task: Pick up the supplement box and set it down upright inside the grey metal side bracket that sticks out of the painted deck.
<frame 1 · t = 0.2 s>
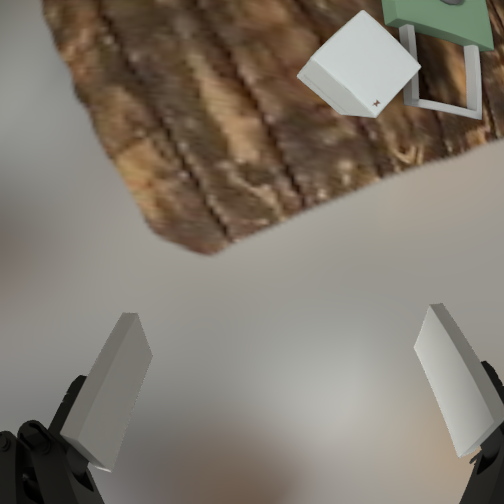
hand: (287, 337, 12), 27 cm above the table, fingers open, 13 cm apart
supplement box: (336, 75, 30), on the table
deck: (431, 1, 23), on the table
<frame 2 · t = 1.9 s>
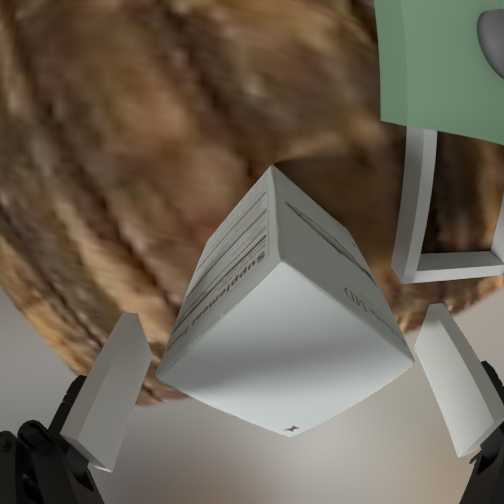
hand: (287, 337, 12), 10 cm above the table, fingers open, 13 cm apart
supplement box: (277, 231, 21), on the table
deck: (470, 60, 13), on the table
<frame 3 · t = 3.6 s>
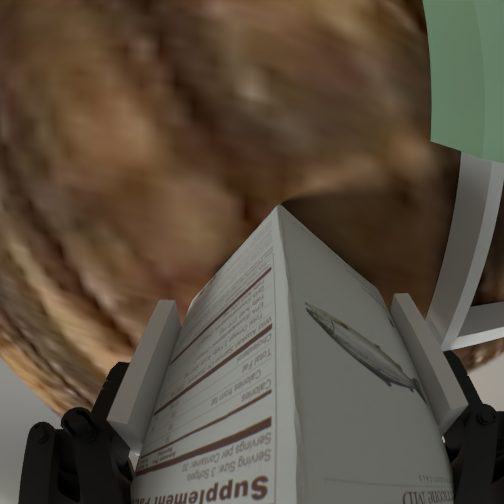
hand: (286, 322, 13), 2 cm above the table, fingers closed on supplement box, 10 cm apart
supplement box: (284, 292, 15), on the table, touching gripper
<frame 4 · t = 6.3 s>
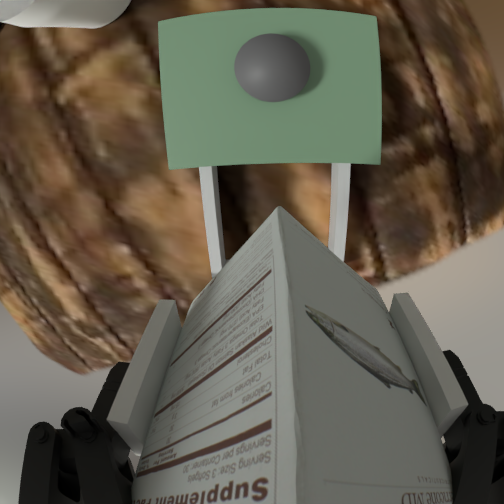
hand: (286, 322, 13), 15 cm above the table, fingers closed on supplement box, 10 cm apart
cup: (105, 0, 17), on the table
supplement box: (284, 293, 15), point 13 cm above the table, touching gripper
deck: (271, 86, 22), on the table
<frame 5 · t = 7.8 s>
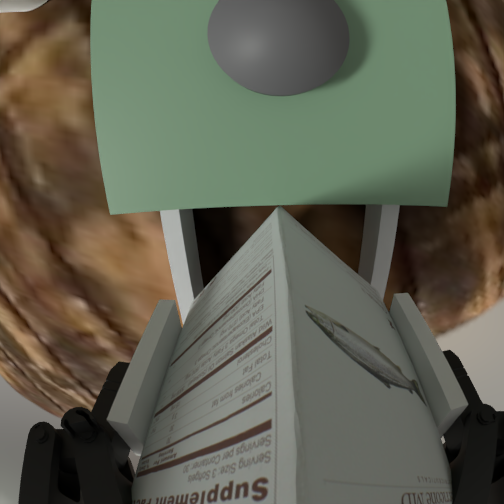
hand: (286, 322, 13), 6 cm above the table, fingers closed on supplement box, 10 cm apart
supplement box: (284, 293, 15), point 3 cm above the table, touching gripper
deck: (275, 72, 13), on the table
when the fingers open (5 cm above the table, at t = 9.0 s): supplement box drops 1 cm, resting on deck.
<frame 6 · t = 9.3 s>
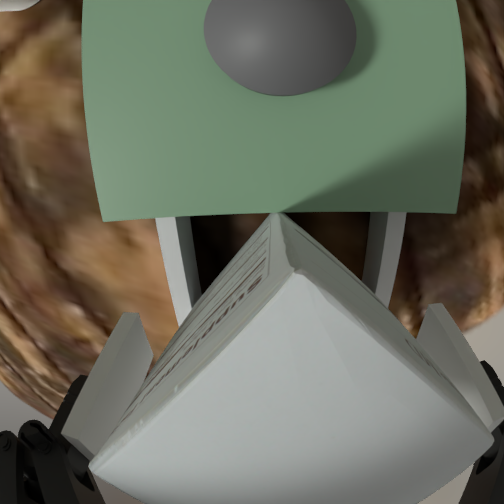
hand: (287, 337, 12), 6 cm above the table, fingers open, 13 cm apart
supplement box: (282, 294, 17), point 1 cm above the table, touching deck
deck: (276, 71, 12), on the table
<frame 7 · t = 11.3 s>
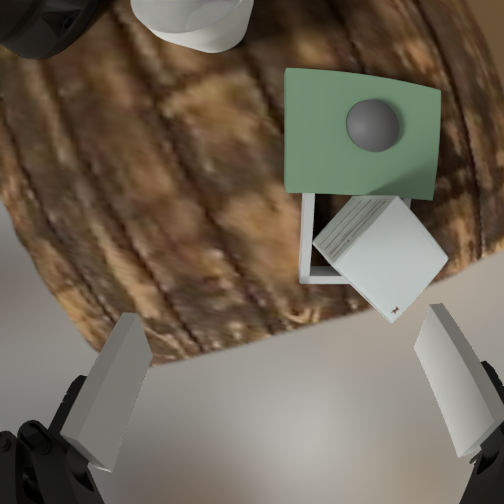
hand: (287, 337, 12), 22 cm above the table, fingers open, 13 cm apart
cup: (216, 26, 24), on the table
supplement box: (353, 239, 33), point 1 cm above the table, touching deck
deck: (358, 132, 29), on the table
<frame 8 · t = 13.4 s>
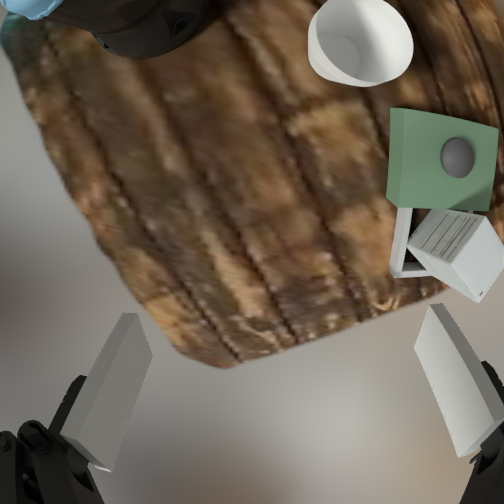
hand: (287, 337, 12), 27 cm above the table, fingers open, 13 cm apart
cup: (335, 56, 28), on the table
supplement box: (431, 240, 37), point 1 cm above the table, touching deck
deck: (439, 158, 33), on the table
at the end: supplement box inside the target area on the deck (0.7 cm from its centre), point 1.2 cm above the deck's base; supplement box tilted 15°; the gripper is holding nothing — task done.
